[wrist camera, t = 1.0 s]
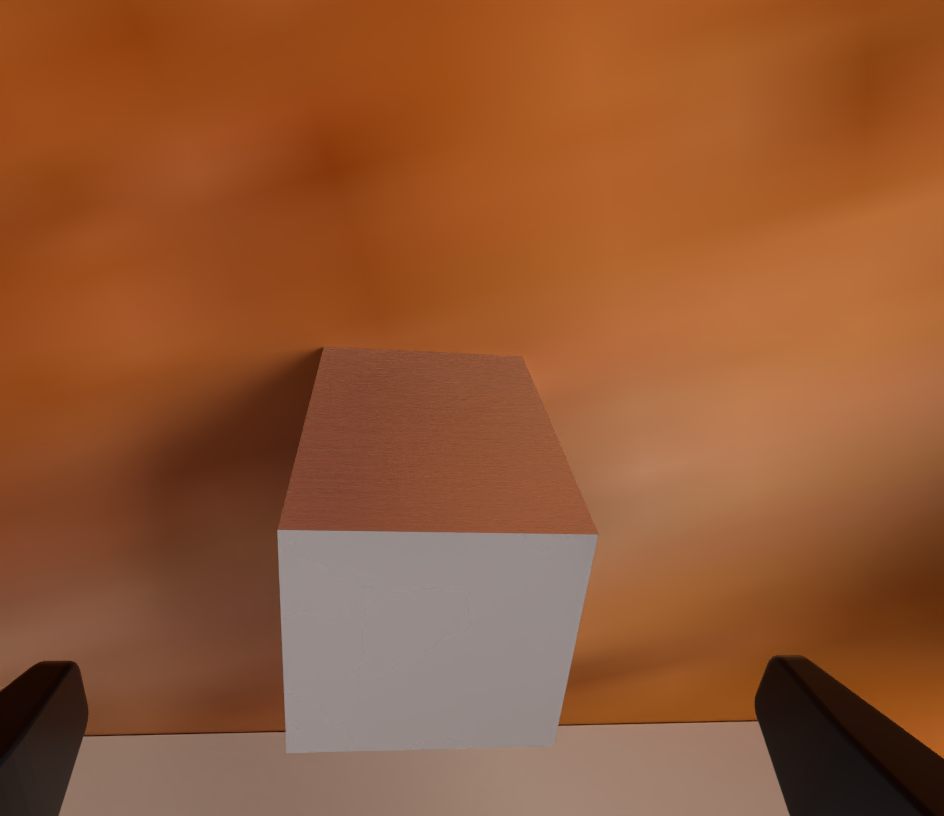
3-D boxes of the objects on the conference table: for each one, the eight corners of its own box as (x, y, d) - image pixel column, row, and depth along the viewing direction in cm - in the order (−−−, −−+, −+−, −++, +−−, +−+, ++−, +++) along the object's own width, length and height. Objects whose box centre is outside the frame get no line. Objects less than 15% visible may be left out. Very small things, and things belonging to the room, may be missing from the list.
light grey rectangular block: (522, 355, 14) (598, 534, 9) (501, 516, 16) (554, 746, 11) (323, 346, 14) (276, 529, 8) (324, 513, 15) (286, 753, 10)
